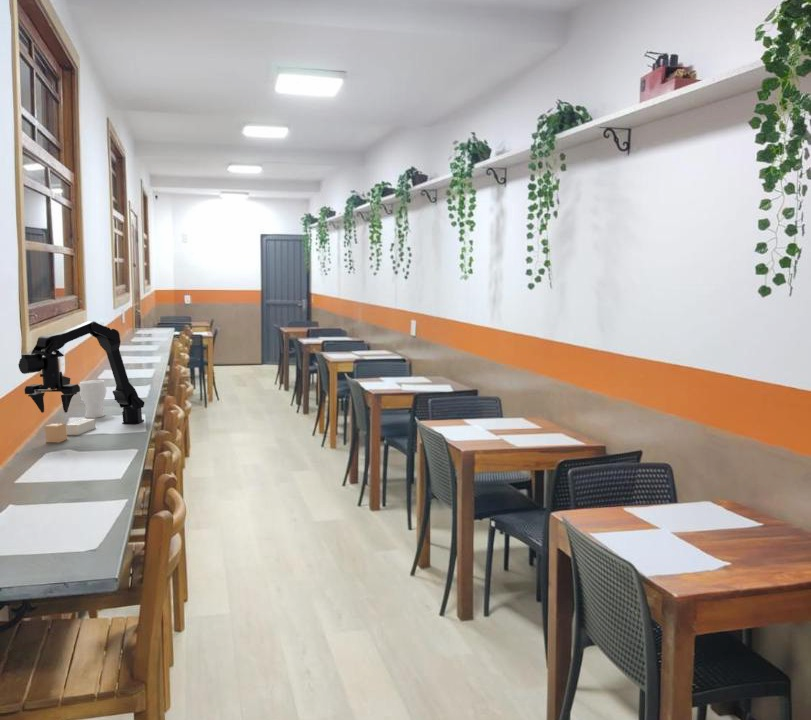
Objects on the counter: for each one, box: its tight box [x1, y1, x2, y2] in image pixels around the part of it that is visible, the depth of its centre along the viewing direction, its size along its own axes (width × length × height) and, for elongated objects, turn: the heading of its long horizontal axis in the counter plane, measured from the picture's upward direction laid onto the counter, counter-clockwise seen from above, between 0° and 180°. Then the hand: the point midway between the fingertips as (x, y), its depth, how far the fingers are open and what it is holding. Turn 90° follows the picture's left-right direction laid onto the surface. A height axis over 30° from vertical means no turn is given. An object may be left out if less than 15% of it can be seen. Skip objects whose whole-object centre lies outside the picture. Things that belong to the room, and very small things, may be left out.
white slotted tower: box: [66, 418, 97, 436], centre depth 289 cm, size 5×12×4 cm, turn 171°
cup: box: [78, 379, 107, 419], centre depth 317 cm, size 11×11×15 cm
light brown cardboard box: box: [44, 422, 68, 443], centre depth 274 cm, size 5×5×6 cm
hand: (54, 412), depth 273 cm, fingers open, 9 cm apart
